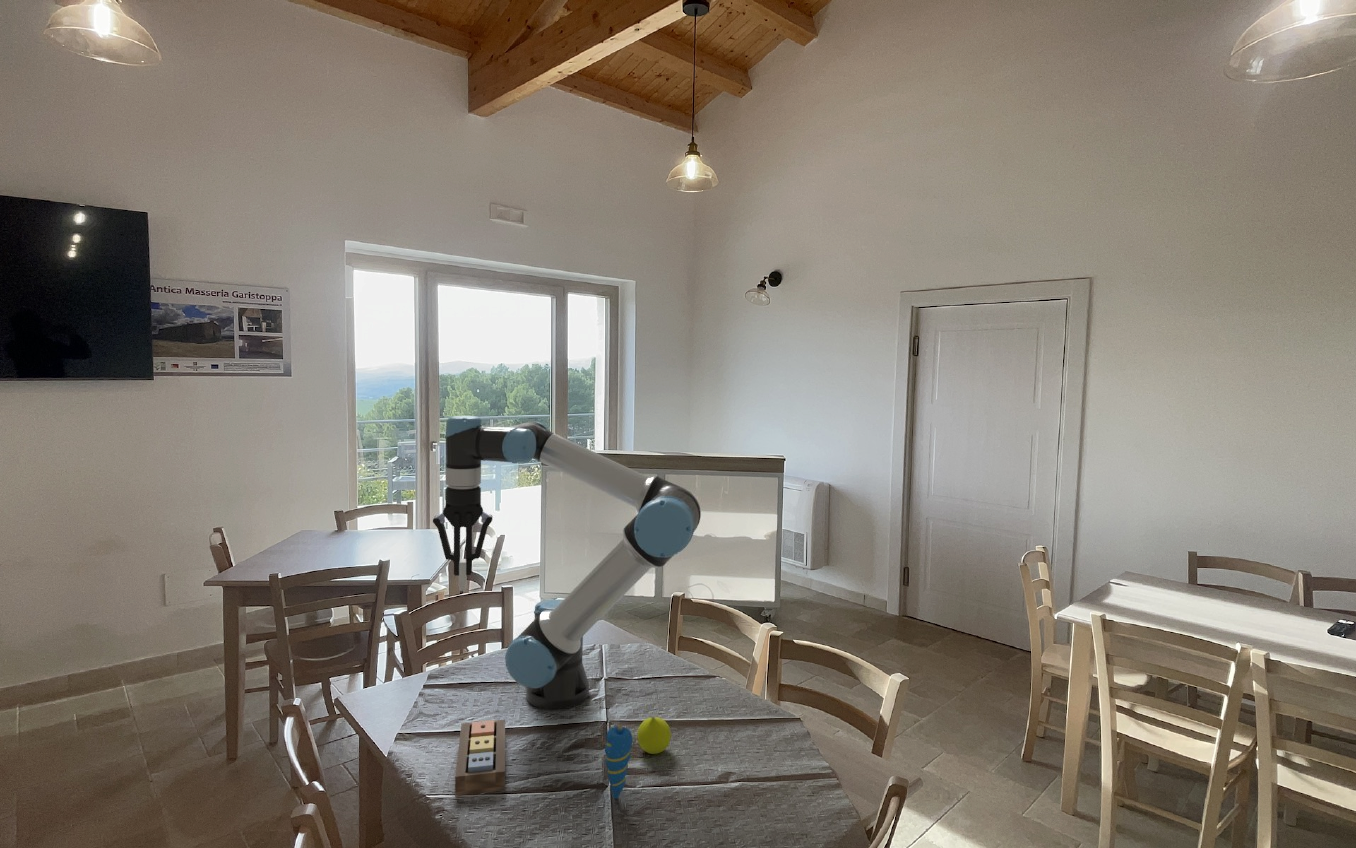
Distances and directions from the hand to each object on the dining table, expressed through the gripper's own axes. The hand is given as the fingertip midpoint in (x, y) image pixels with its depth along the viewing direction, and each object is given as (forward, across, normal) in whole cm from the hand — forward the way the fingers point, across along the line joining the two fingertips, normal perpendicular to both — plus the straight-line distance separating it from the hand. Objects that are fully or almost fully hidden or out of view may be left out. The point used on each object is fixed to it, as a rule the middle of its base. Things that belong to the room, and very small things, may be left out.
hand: (462, 588), depth 155 cm
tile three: (+28, -5, +27) cm, 39 cm away
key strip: (+29, -5, +21) cm, 36 cm away
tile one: (+28, -5, +15) cm, 32 cm away
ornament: (+30, -30, +37) cm, 56 cm away
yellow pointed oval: (+30, -40, +23) cm, 55 cm away
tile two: (+28, -5, +21) cm, 35 cm away
